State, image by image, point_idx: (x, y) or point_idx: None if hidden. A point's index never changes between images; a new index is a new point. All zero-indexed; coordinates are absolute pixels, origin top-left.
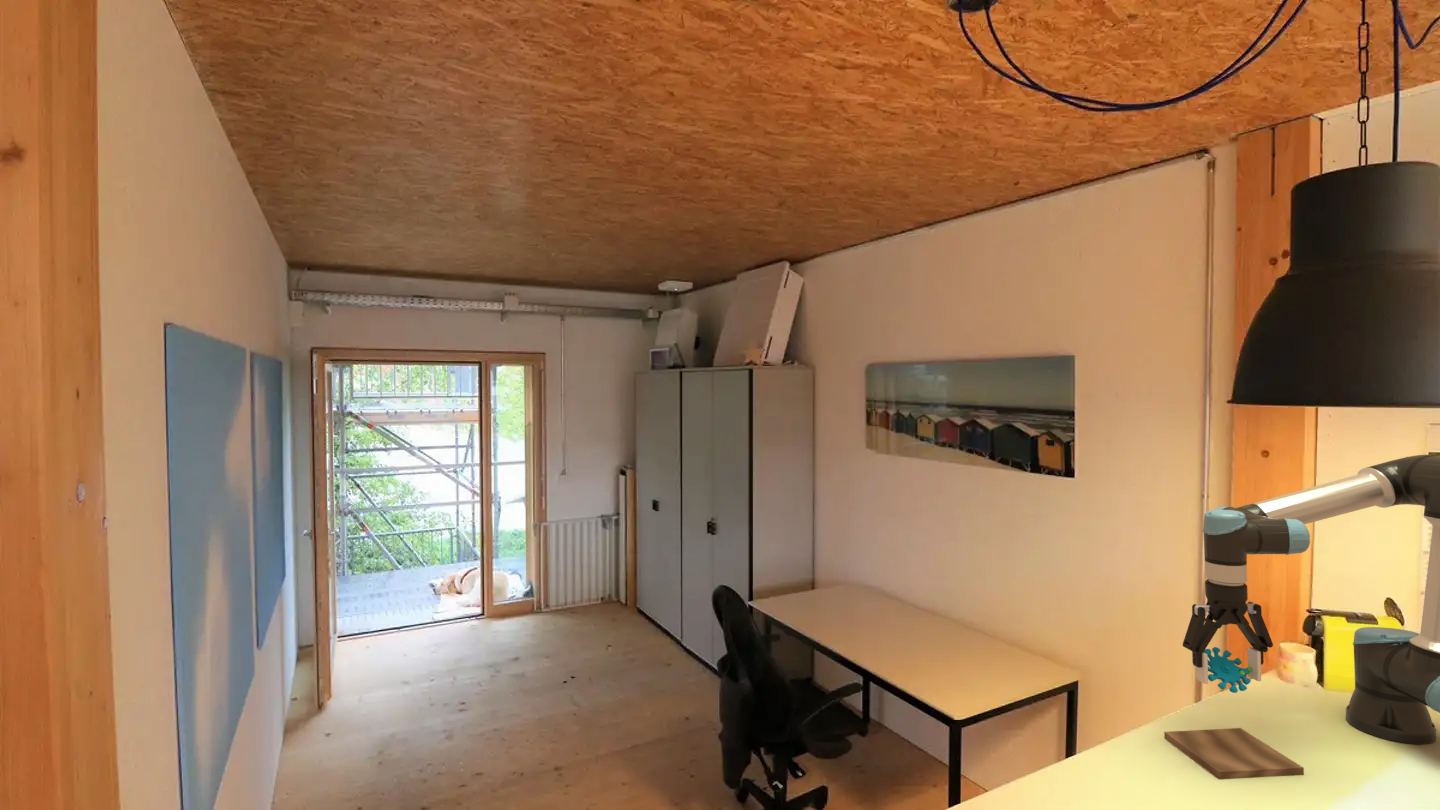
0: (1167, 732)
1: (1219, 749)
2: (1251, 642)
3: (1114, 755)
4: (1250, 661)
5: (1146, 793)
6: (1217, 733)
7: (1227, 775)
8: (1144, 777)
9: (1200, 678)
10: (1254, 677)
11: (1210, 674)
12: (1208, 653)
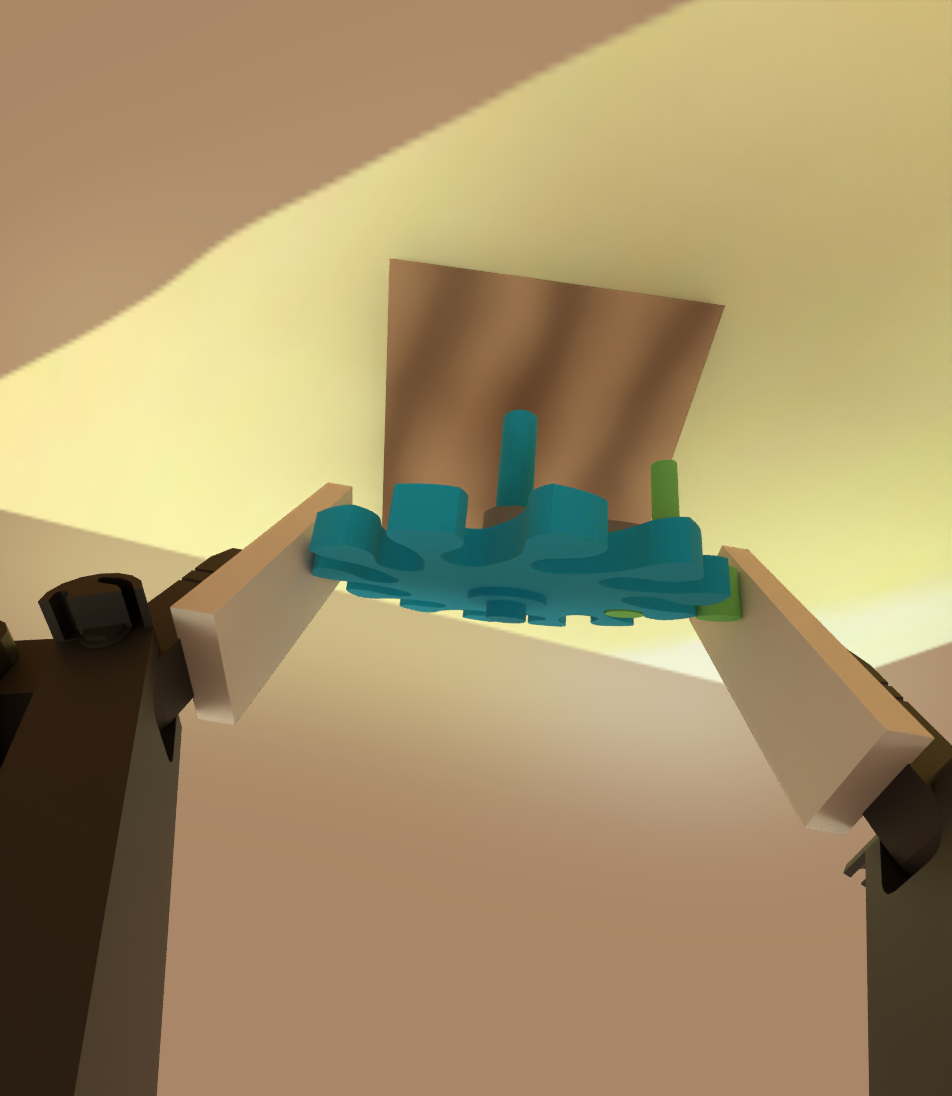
0: (398, 268)
1: (486, 435)
2: (924, 870)
3: (160, 340)
4: (772, 647)
5: (173, 533)
6: (586, 326)
7: None
8: (199, 474)
9: None
10: None
11: (355, 591)
12: (414, 546)
